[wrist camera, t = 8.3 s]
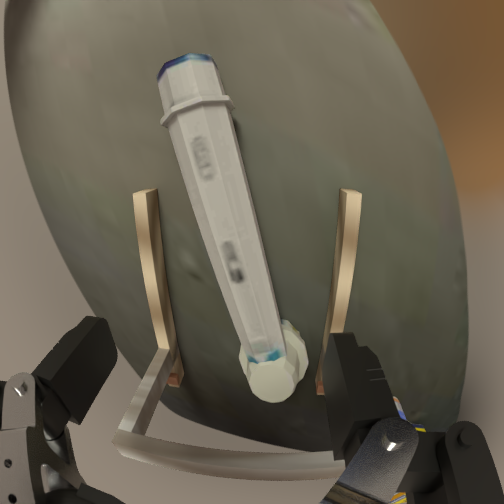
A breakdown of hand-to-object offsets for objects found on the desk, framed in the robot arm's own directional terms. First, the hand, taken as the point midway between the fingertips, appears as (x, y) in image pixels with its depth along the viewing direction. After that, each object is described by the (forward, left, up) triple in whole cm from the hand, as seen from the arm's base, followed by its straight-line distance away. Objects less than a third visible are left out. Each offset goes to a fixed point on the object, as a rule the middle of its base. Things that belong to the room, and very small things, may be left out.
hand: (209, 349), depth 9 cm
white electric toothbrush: (0, 0, -12) cm, 12 cm away
